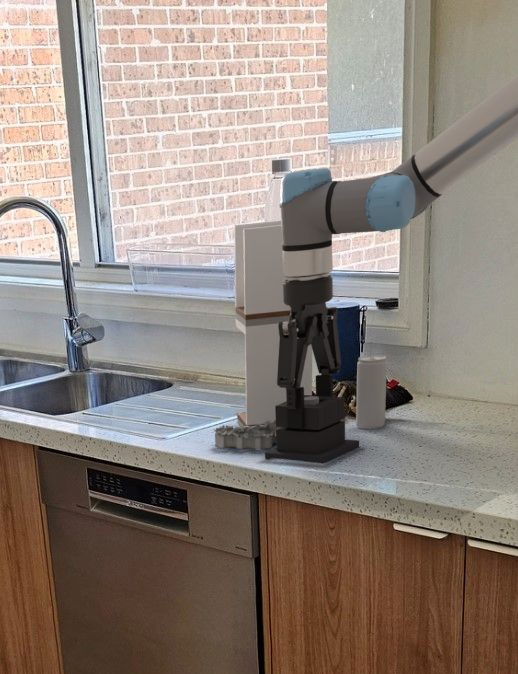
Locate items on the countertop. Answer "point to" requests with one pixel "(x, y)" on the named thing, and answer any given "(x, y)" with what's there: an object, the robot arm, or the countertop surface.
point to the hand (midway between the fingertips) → (310, 421)
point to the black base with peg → (309, 457)
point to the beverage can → (371, 392)
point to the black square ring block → (310, 438)
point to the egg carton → (247, 436)
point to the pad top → (315, 412)
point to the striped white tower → (262, 318)
